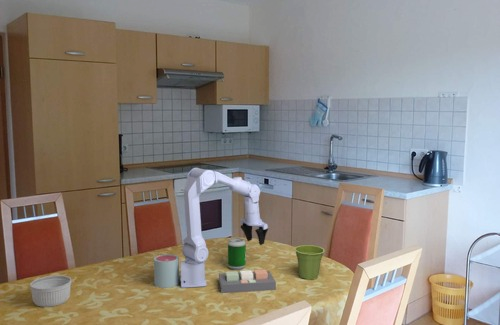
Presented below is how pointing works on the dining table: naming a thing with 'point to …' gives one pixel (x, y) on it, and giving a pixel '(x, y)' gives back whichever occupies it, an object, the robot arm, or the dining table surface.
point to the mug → (166, 271)
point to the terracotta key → (260, 274)
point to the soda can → (236, 254)
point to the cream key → (246, 275)
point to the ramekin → (50, 290)
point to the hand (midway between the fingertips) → (255, 242)
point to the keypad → (246, 284)
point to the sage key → (232, 276)
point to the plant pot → (309, 260)
